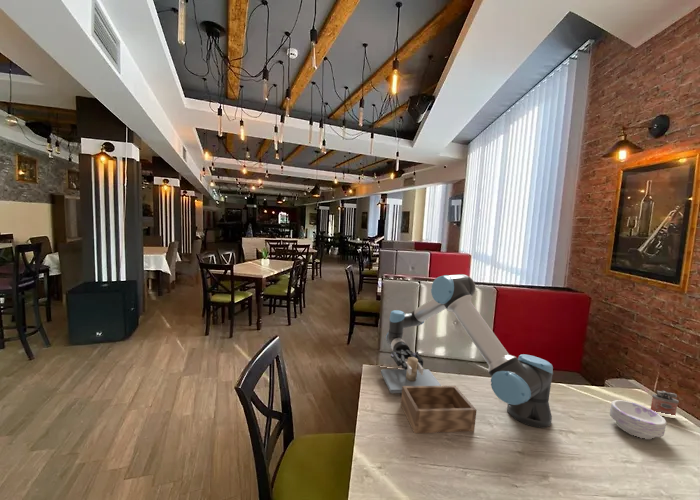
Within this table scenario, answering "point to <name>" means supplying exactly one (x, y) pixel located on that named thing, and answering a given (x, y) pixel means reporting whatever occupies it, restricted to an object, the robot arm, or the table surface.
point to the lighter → (664, 402)
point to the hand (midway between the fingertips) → (416, 371)
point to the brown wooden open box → (437, 409)
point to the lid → (408, 377)
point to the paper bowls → (637, 419)
